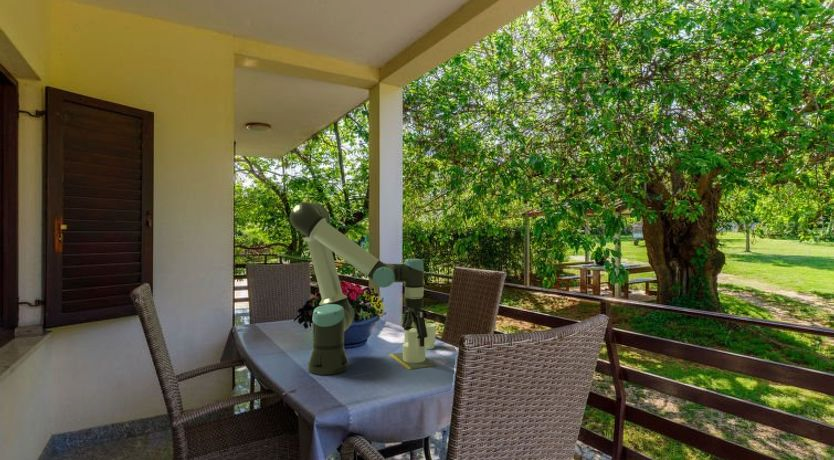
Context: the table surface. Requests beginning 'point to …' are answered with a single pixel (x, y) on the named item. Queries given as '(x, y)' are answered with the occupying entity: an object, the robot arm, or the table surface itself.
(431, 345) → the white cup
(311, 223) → the robot arm
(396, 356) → the mat
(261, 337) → the table surface
